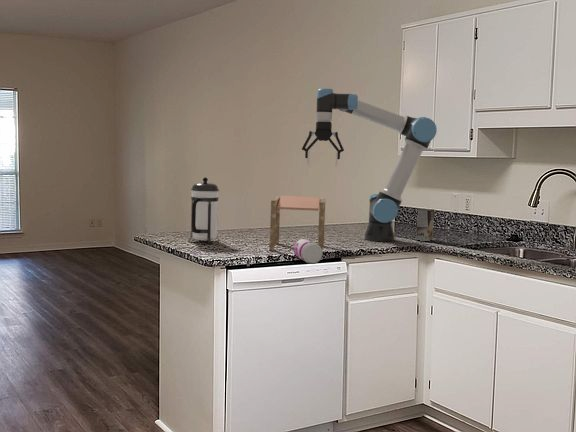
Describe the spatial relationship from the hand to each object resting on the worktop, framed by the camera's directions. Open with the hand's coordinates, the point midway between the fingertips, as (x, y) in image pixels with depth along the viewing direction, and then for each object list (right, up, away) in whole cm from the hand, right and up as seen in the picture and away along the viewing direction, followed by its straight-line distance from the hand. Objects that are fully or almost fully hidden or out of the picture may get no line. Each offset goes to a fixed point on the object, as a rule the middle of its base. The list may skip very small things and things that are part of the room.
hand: (322, 165), depth 333 cm
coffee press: (-56, -37, -13) cm, 68 cm away
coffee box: (+53, -37, +19) cm, 67 cm away
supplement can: (-7, -39, -63) cm, 74 cm away
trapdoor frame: (-12, -39, -21) cm, 46 cm away
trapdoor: (-12, -20, -23) cm, 33 cm away
